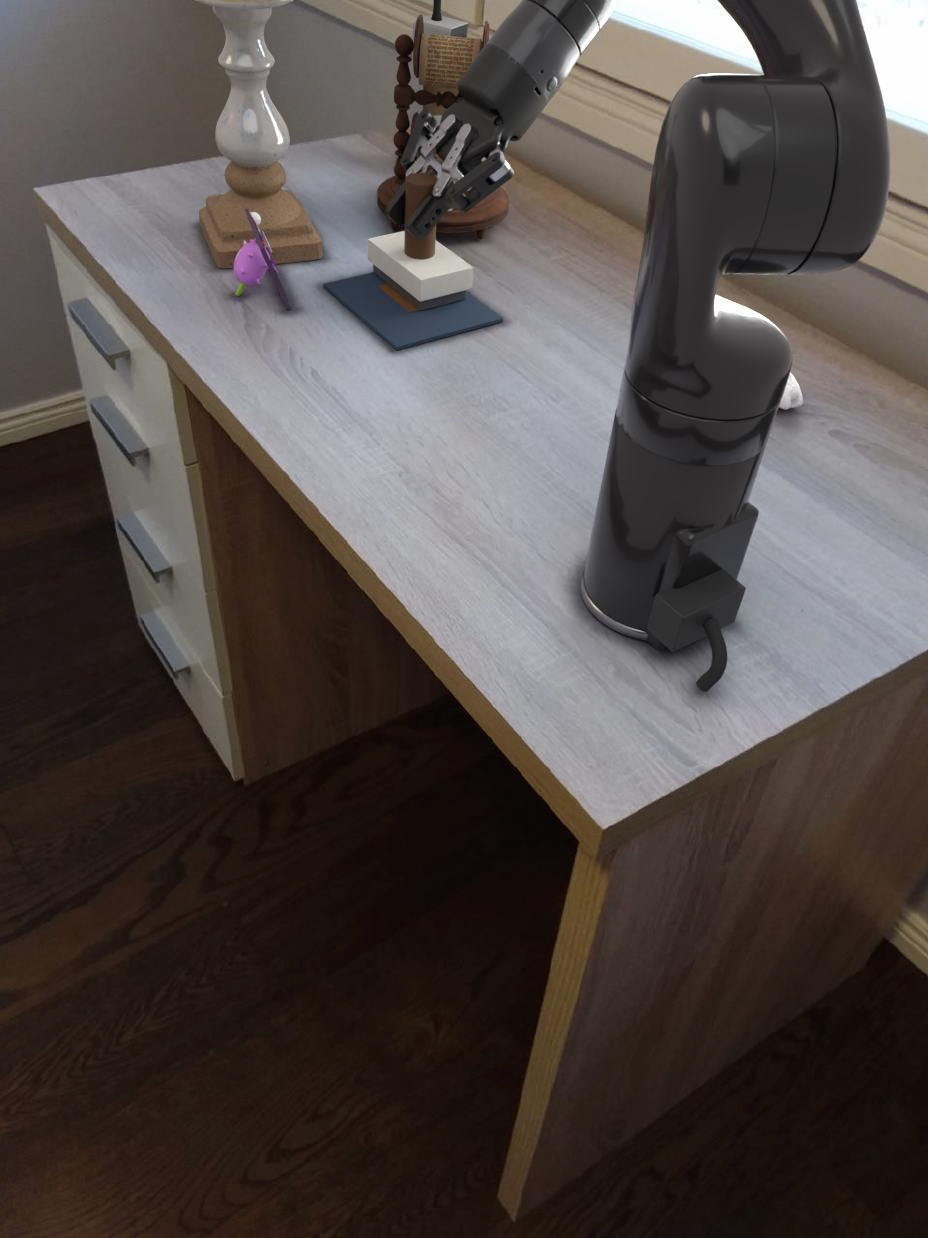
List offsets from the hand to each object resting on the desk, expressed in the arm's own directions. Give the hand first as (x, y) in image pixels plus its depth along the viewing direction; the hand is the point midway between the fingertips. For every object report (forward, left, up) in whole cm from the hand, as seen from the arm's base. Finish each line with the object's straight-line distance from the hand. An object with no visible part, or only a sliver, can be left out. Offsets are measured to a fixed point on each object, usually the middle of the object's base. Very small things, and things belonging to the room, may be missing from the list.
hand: (402, 226), depth 97 cm
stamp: (0, -2, -6) cm, 7 cm away
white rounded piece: (-31, -20, -7) cm, 38 cm away
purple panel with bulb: (+7, +12, -7) cm, 16 cm away
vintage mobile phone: (+25, -20, -7) cm, 32 cm away
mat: (-2, 0, -7) cm, 7 cm away
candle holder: (+17, +7, -7) cm, 20 cm away
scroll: (+14, -14, -7) cm, 21 cm away
